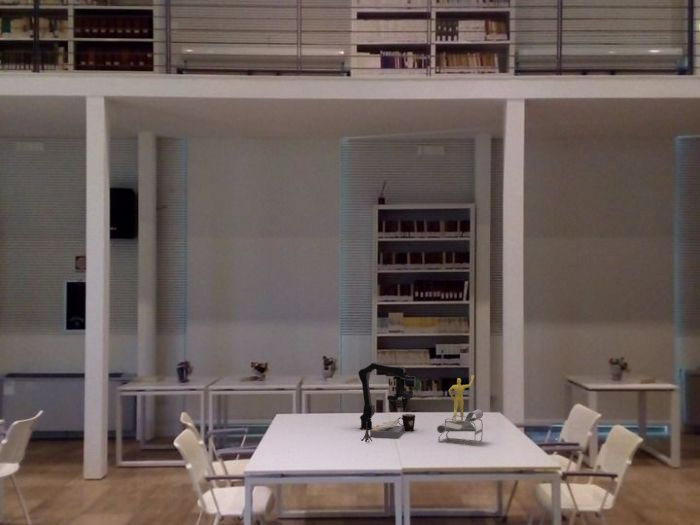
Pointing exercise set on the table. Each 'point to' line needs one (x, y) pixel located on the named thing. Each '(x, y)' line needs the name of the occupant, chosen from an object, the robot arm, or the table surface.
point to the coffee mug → (408, 421)
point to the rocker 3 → (387, 426)
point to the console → (387, 432)
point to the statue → (460, 402)
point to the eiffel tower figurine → (366, 434)
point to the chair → (456, 426)
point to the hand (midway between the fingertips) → (399, 410)
